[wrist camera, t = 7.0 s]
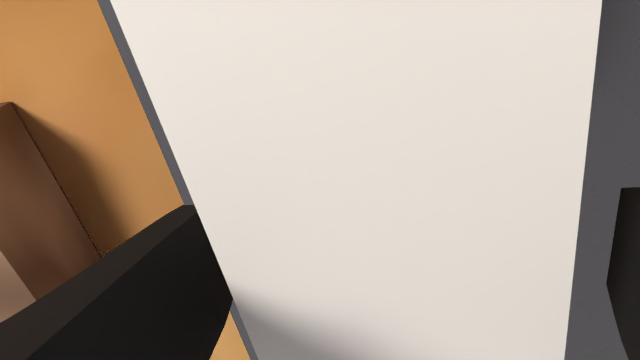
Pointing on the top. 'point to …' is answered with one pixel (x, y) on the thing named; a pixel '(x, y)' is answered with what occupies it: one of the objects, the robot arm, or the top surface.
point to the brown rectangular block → (34, 223)
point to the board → (381, 165)
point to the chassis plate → (598, 182)
